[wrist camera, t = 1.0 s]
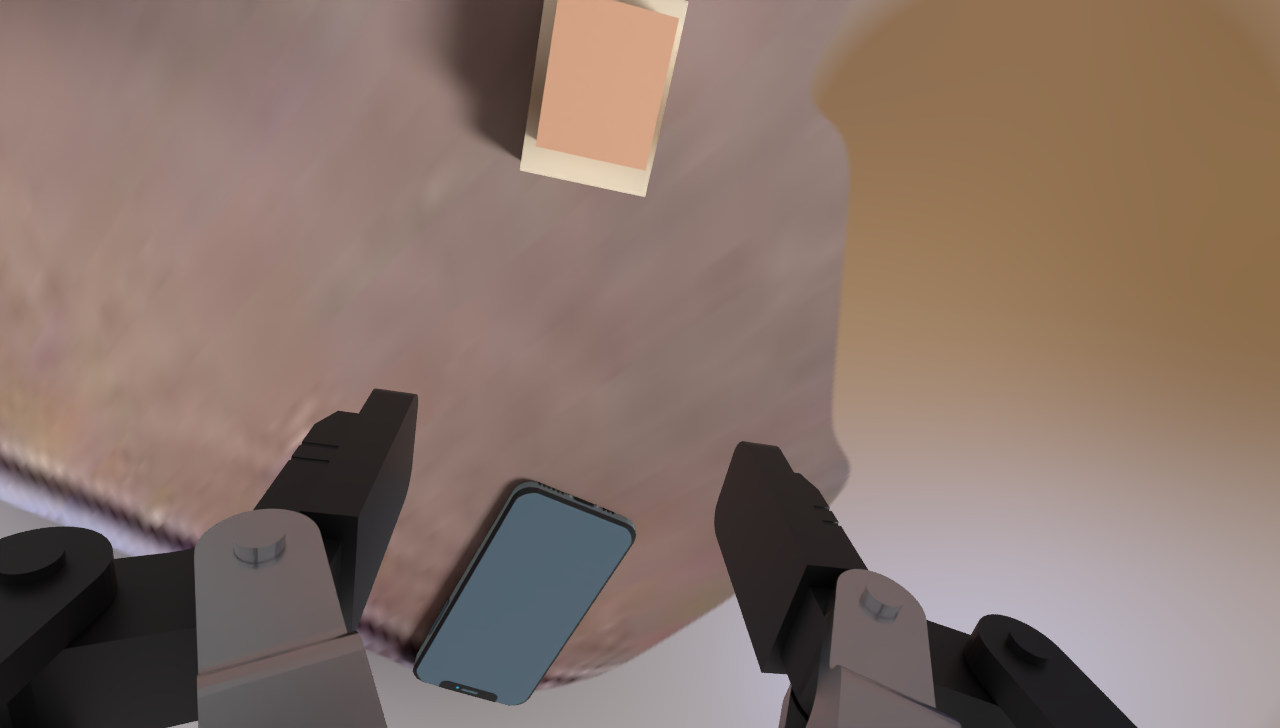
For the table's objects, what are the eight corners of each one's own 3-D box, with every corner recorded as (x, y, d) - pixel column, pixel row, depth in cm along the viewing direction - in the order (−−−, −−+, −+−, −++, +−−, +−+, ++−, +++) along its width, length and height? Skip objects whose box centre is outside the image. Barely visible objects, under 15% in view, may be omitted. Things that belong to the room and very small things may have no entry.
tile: (559, -7, 22) (559, -15, 20) (669, 23, 23) (679, 18, 21) (537, 140, 24) (535, 146, 22) (639, 163, 24) (645, 170, 23)
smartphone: (645, 532, 34) (523, 713, 39) (641, 513, 36) (524, 689, 40) (519, 482, 32) (404, 680, 36) (521, 465, 34) (410, 657, 38)
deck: (550, -27, 24) (549, -38, 21) (676, 8, 25) (688, 1, 22) (523, 162, 26) (519, 170, 24) (638, 187, 27) (644, 197, 25)
